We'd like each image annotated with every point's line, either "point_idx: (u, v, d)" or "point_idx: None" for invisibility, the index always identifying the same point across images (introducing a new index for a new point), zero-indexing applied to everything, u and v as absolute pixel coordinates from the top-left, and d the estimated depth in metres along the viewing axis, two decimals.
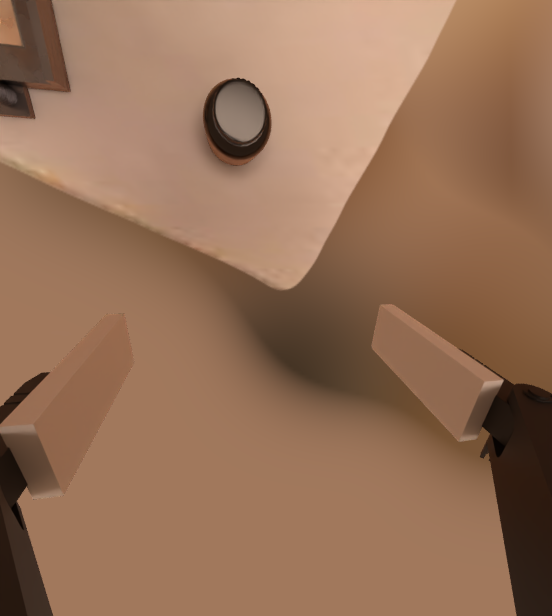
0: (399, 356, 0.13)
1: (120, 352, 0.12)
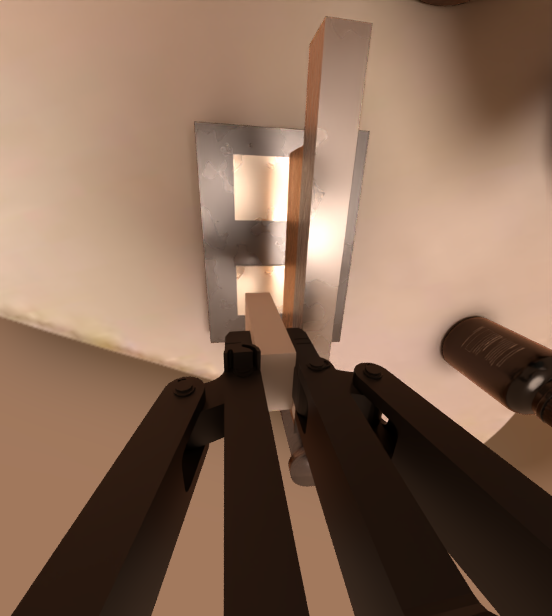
0: None
1: None
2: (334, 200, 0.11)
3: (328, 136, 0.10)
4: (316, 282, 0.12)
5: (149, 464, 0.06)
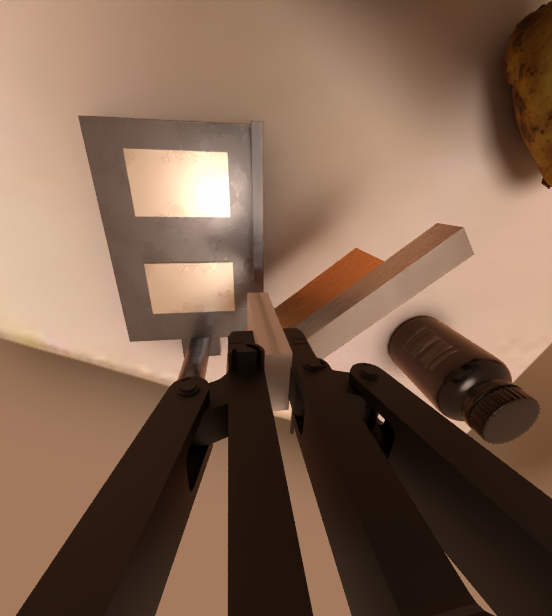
0: None
1: None
2: (374, 310, 0.14)
3: (407, 277, 0.13)
4: (314, 343, 0.14)
5: (154, 463, 0.06)
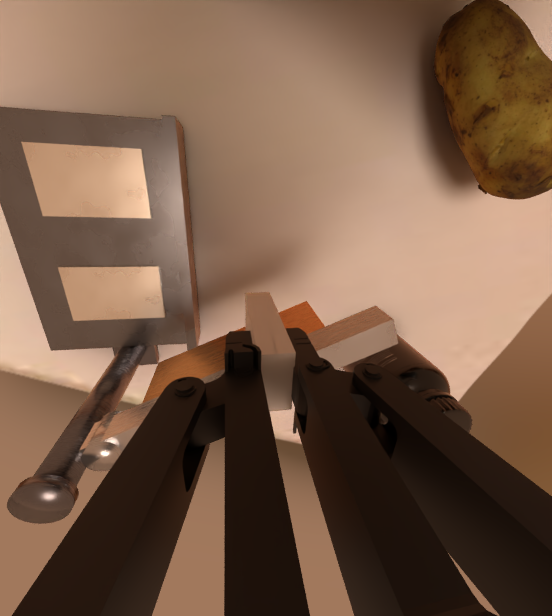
0: None
1: None
2: None
3: (337, 350, 0.14)
4: None
5: (150, 464, 0.06)
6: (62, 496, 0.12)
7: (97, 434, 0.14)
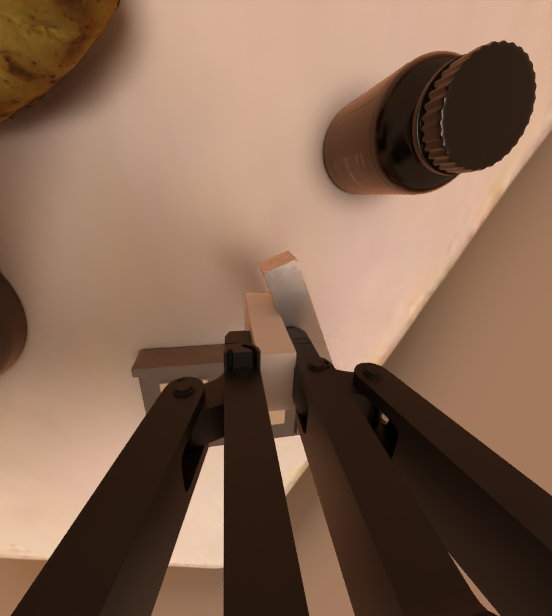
0: None
1: None
2: None
3: (295, 327, 0.13)
4: None
5: (149, 464, 0.06)
6: None
7: None
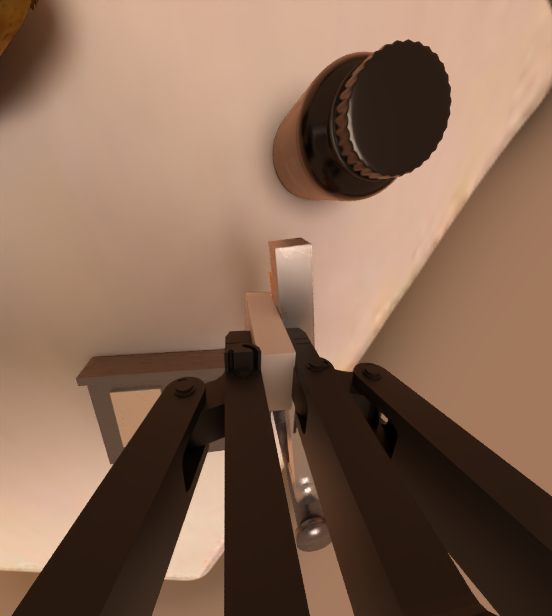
0: None
1: None
2: None
3: (290, 315, 0.13)
4: None
5: (150, 464, 0.06)
6: (310, 531, 0.17)
7: (293, 485, 0.19)
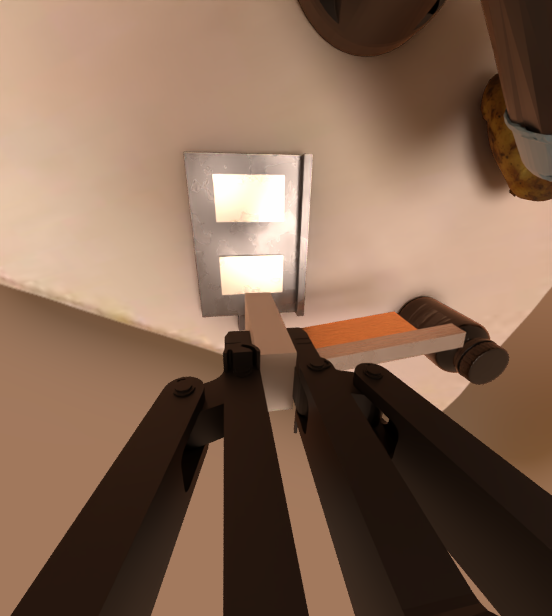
0: None
1: None
2: (409, 351, 0.24)
3: (432, 342, 0.24)
4: (374, 354, 0.24)
5: (149, 464, 0.06)
6: None
7: None
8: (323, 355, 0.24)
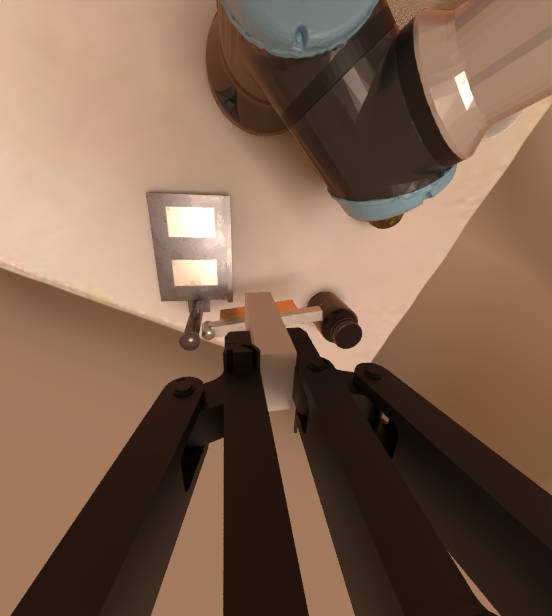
0: None
1: None
2: (286, 322, 0.39)
3: (301, 316, 0.39)
4: None
5: (149, 464, 0.06)
6: (197, 338, 0.36)
7: (207, 325, 0.38)
8: (230, 322, 0.38)
